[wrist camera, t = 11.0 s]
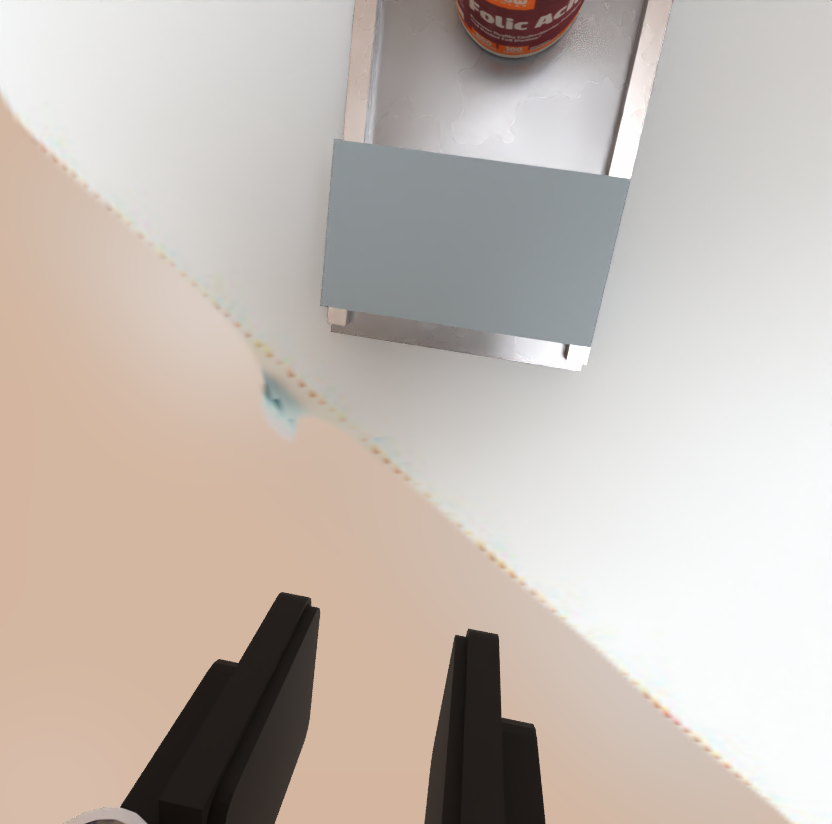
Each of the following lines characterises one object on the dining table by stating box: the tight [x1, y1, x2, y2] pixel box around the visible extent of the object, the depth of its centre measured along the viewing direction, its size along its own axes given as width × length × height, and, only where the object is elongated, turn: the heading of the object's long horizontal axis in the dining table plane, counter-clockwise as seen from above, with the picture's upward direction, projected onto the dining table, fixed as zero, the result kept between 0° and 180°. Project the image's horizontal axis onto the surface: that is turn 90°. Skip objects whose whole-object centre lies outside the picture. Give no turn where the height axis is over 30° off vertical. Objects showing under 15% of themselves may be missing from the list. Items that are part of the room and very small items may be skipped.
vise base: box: [327, 0, 673, 371], centre depth 19 cm, size 22×11×7 cm, turn 172°
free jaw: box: [320, 139, 630, 348], centre depth 20 cm, size 5×9×6 cm, turn 82°
